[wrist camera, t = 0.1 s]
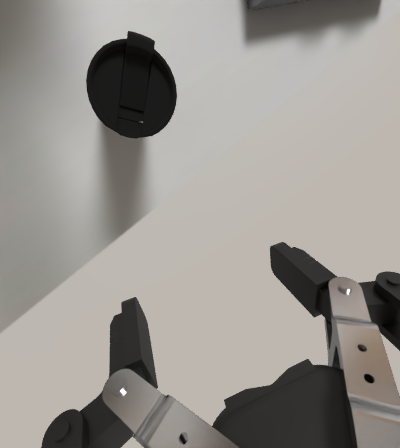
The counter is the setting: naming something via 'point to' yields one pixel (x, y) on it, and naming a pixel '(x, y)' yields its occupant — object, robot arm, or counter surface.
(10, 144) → the counter surface
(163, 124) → the travel mug
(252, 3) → the power strip
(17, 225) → the counter surface
